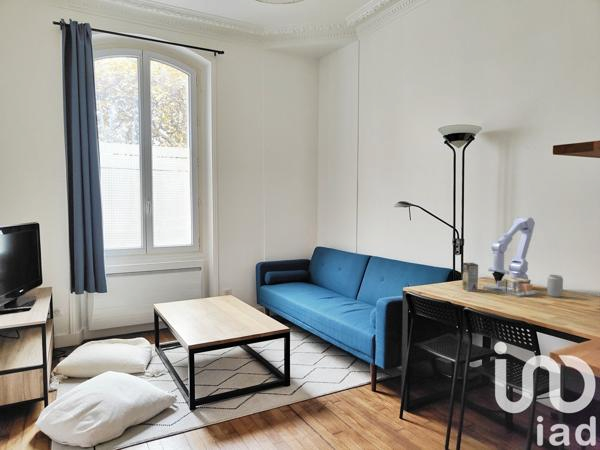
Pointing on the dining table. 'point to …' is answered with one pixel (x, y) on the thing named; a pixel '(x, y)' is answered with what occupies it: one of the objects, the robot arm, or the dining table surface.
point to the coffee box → (470, 277)
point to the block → (525, 287)
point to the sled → (501, 284)
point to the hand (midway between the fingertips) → (498, 284)
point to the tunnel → (514, 280)
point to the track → (509, 291)
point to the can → (555, 286)
